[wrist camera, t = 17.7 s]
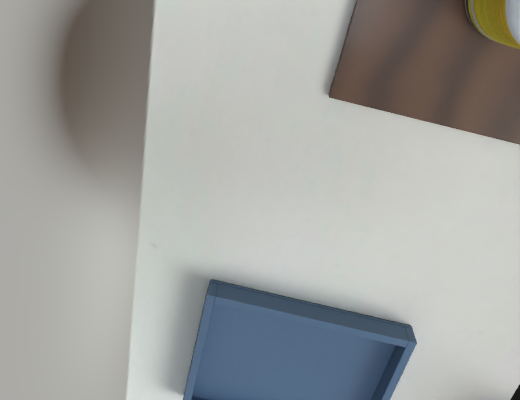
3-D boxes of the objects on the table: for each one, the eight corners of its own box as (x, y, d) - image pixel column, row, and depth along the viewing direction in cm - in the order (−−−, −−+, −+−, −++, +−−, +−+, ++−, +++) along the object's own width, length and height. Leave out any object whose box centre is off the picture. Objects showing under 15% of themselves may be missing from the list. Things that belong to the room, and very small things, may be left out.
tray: (184, 396, 53) (179, 415, 50) (210, 279, 46) (206, 294, 44) (360, 436, 53) (363, 455, 51) (411, 325, 47) (417, 343, 44)
